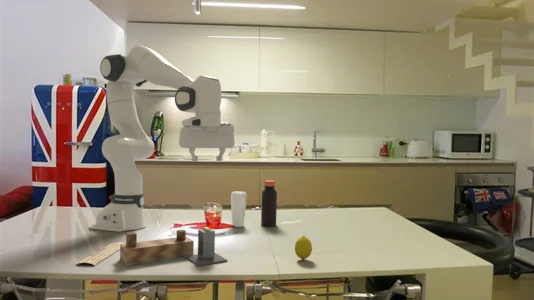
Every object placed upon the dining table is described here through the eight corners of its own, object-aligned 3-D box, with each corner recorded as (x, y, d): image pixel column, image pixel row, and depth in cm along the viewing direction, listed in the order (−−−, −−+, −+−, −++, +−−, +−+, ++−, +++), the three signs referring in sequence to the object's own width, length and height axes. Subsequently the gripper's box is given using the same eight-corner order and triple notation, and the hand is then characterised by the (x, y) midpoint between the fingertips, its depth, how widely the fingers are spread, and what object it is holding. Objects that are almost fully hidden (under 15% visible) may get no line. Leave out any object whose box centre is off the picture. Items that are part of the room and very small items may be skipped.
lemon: (293, 257, 142) (294, 234, 141) (309, 257, 142) (310, 234, 142) (295, 262, 136) (296, 238, 136) (312, 262, 137) (313, 238, 136)
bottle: (267, 227, 185) (269, 182, 184) (257, 224, 190) (259, 180, 189) (279, 225, 189) (280, 181, 189) (269, 223, 195) (270, 179, 194)
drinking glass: (233, 228, 182) (234, 193, 181) (227, 225, 188) (228, 191, 187) (248, 227, 185) (249, 193, 184) (241, 224, 191) (242, 191, 190)
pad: (198, 266, 130) (198, 264, 130) (185, 258, 138) (185, 256, 138) (227, 261, 135) (227, 259, 135) (213, 253, 144) (213, 252, 144)
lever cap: (202, 260, 134) (203, 229, 134) (197, 257, 137) (198, 227, 137) (214, 258, 136) (214, 228, 136) (209, 255, 140) (209, 226, 139)
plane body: (126, 266, 129) (126, 236, 128) (119, 259, 135) (120, 231, 134) (193, 256, 141) (194, 229, 140) (184, 250, 147) (185, 224, 146)
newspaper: (94, 268, 128) (94, 262, 128) (72, 267, 128) (72, 261, 128) (126, 247, 151) (126, 242, 151) (107, 246, 152) (107, 241, 152)
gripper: (229, 122, 158) (228, 159, 158) (177, 120, 146) (176, 160, 147) (238, 122, 152) (237, 161, 153) (184, 120, 141) (183, 162, 142)
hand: (207, 160), depth 150 cm, fingers open, 8 cm apart
